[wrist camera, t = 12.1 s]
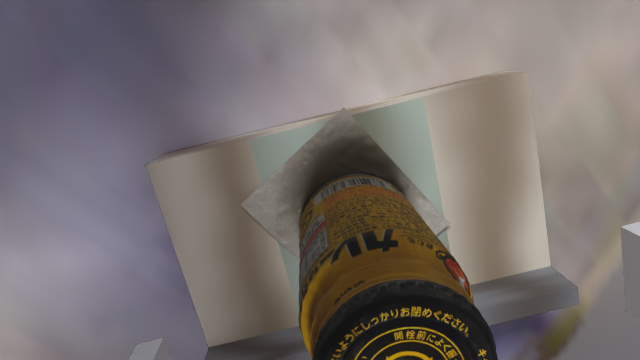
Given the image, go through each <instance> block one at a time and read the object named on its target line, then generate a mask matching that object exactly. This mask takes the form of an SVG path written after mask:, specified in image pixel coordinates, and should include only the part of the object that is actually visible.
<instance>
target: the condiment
mask: <svg viewBox="0 0 640 360" xmlns="http://www.w3.org/2000/svg"><path fill="white" fill-rule="evenodd" d="M241 206H242V207H243V208H244V209H245V210H246V211H247V212H248V213H249V214H250V215H251V216H252V217H253V218H255V219H256V220H257V221H258V222H259V223H260V224H261V225H262V226H263V227H264V228H265V229H266V230H267V231H268V232H269V233H270V234H272V235H273V236H274V237H275V238H276V239H277V240H278V241H279V242H280V243H281V244H282V245H283V246H284V247H285V248H286V249H288V250H289V251H290V252H291V253H292V254H293V255H294V256H295V257H296V258H297V259H298V260H300V263H299V272H300V273H299V317H298V320H299V328H300V330H301V333H302V336H303V341H304V344H305V346H306V348H307V350H308V351H309V353H310V355H311V360H498V358H497V354H496V346H495V342H494V339H493V335H492V333H491V330H490V328H489V326H488V324H487V322H486V321H485V319H484V318H483V316H482V315H481V313H480V311H479V310H478V309H477V308H476V306H475V304H474V301H473V294H472V291H471V288H470V283H469V282H468V279H467V277H466V275H465V273H464V272H463V270H462V269H461V267H460V265H459V263H458V262H457V261H456V259H455V258H454V257H453V256H452V255H451V253H450V252H449V251H448V249H447V248H446V247H445V246H444V245H443V244H442V242H441V241H440V240H439V239H438V238H437V236H436V235H437V234H438V233H440V232H441V231H442V230H443V229H444V228H445V227H446V226H448V225H449V224H450V223H449V221H448V220H447V219H446V218H445V217H444V216H443V215H442V214H441V213H440V212H439V211H438V210H437V208H436V207H435V206H434V205H433V204H432V203H431V202H430V201H429V200H428V199H427V198H426V196H425V195H424V194H423V193H422V192H421V191H420V190H419V189H418V188H417V187H416V186H415V184H414V183H413V182H412V181H411V180H410V179H409V178H408V177H407V176H406V175H405V174H404V173H403V171H402V170H401V169H400V168H399V167H398V166H397V165H396V164H395V163H394V162H393V161H392V159H391V158H390V157H389V156H388V155H387V154H386V153H385V152H384V151H383V150H382V149H381V147H380V146H379V145H378V144H377V143H376V142H375V141H374V140H373V139H372V138H371V136H370V135H369V134H368V133H367V132H366V131H365V130H364V129H363V128H362V127H361V126H360V125H359V124H358V122H357V121H356V120H355V119H354V118H353V117H352V116H351V115H350V114H349V113H348V112H347V110H346V109H345V108H343V109H342V110H341V111H340V112H339V113H338V114H336V115H335V116H334V117H333V119H331V120H330V121H329V122H328V123H327V124H326V125H325V126H324V127H322V128H321V129H320V130H319V131H318V132H317V133H316V134H315V135H314V136H313V137H312V138H311V139H310V140H309V141H307V142H306V143H305V144H304V145H303V146H302V147H301V148H300V149H299V150H298V151H297V152H296V153H295V154H294V155H293V156H292V157H291V158H289V159H288V160H287V161H286V162H285V163H284V164H283V165H282V166H281V167H280V168H279V169H278V170H277V171H276V172H275V173H274V174H273V175H272V176H271V177H269V178H268V179H267V180H266V181H265V182H264V183H263V184H262V185H261V186H260V187H259V188H258V189H257V190H256V191H255V192H254V193H253V194H252V195H250V196H249V197H248V198H247V199H246V200H245V201H244V202H243V203H242V204H241ZM299 210H300V212H299Z"/></svg>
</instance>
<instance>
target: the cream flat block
mask: <svg viewBox="0 0 640 360" xmlns="http://www.w3.org/2000/svg"><path fill="white" fill-rule="evenodd" d="M346 110H347V112H348V113H349V114H350V115H351V116H352V117H353V118H354V119H355V120H356V121H357V122H358V124H359V125H360V126H361V127H362V128H363V129H364V130H365V131H366V132H367V133H368V134H369V135H370V136H371V138H372V139H373V140H374V141H375V142H376V143H377V144H378V145H379V146H380V147H381V149H382V150H383V151H384V152H385V153H386V154H387V155H388V156H389V157H390V158H391V159H392V161H393V162H394V163H395V164H396V165H397V166H398V167H399V168H400V169H401V170H402V171H403V173H404V174H405V175H406V176H407V177H408V178H409V179H410V180H411V181H412V182H413V183H414V184H415V186H416V187H417V188H418V189H419V190H420V191H421V192H422V193H423V194H424V195H425V196H426V198H427V199H428V200H429V201H430V202H431V203H432V204H433V205H434V206H435V207H436V208H437V210H438V211H439V212H440V213H441V214H442V215H443V216H444V217H445V218H446V219H447V220H448V221H449V223H450V224H449V225H448V226H446V227H445V228H444V229H443V230H442V231H441V232H440V233H438V234H437V235H436V236H437V238H438V239H439V240H440V241H441V242H442V244H443V245H444V246H445V247H446V248H447V249H448V251H449V252H450V253H451V255H452V256H453V257H454V258H455V259H456V261H457V262H458V263H459V265H460V267H461V269H462V270H463V272H464V273H465V275H466V277H467V279H468V282H469V283H470V288H471V291H472V294H473V301H474V304H475V306H476V308H477V309H478V310H479V311H480V313H481V315H482V316H483V318H484V319H485V321H486V322H487V324H488V326H490V325H494V324H498V323H502V322H507V321H511V320H515V319H519V318H523V317H528V316H532V315H536V314H540V313H545V312H549V311H553V310H557V309H561V308H566V307H570V306H574V305H578V304H579V295H578V287H577V286H576V285H574V284H573V283H572V282H570V281H569V280H568V279H567V278H565V277H564V276H563V275H561V274H560V273H559V272H558V271H556V270H555V269H554V268H553V267H551V265H550V257H549V248H548V239H547V230H546V221H545V212H544V203H543V195H542V186H541V177H540V168H539V159H538V150H537V142H536V133H535V124H534V115H533V106H532V97H531V89H530V80H529V71H500V72H496V73H492V74H488V75H484V76H480V77H476V78H472V79H468V80H464V81H460V82H455V83H451V84H447V85H443V86H439V87H435V88H431V89H427V90H423V91H419V92H415V93H411V94H406V95H402V96H398V97H394V98H390V99H386V100H382V101H378V102H374V103H370V104H366V105H362V106H357V107H353V108H349V109H346ZM339 112H340V111H337V112H333V113H329V114H325V115H321V116H317V117H313V118H308V119H304V120H300V121H296V122H292V123H288V124H284V125H280V126H276V127H272V128H268V129H263V130H259V131H255V132H251V133H247V134H243V135H239V136H235V137H231V138H227V139H223V140H219V141H214V142H210V143H206V144H202V145H198V146H194V147H190V148H186V149H182V150H178V151H174V152H170V153H165V154H162V155H161V156H159V157H157V158H156V159H154V160H153V161H151V162H149V163H148V164H146V165H145V166H146V169H147V172H148V175H149V178H150V181H151V183H152V186H153V189H154V192H155V195H156V198H157V201H158V203H159V206H160V209H161V212H162V215H163V218H164V221H165V223H166V226H167V229H168V232H169V235H170V238H171V241H172V244H173V246H174V249H175V252H176V255H177V258H178V261H179V264H180V266H181V269H182V272H183V275H184V278H185V281H186V284H187V287H188V289H189V292H190V295H191V298H192V301H193V304H194V307H195V309H196V312H197V315H198V318H199V321H200V324H201V327H202V330H203V332H204V335H205V338H206V341H207V344H208V347H209V348H208V351H207V354H206V357H205V360H311V355H310V353H309V351H308V350H307V348H306V346H305V344H304V341H303V336H302V333H301V330H300V328H299V320H298V317H299V273H300V272H299V263H300V260H298V259H297V258H296V257H295V256H294V255H293V254H292V253H291V252H290V251H289V250H288V249H286V248H285V247H284V246H283V245H282V244H281V243H280V242H279V241H278V240H277V239H276V238H275V237H274V236H273V235H272V234H270V233H269V232H268V231H267V230H266V229H265V228H264V227H263V226H262V225H261V224H260V223H259V222H258V221H257V220H256V219H255V218H253V217H252V216H251V215H250V214H249V213H248V212H247V211H246V210H245V209H244V208H243V207H242V206H241V204H242V203H243V202H244V201H245V200H246V199H247V198H248V197H249V196H250V195H252V194H253V193H254V192H255V191H256V190H257V189H258V188H259V187H260V186H261V185H262V184H263V183H264V182H265V181H266V180H267V179H268V178H269V177H271V176H272V175H273V174H274V173H275V172H276V171H277V170H278V169H279V168H280V167H281V166H282V165H283V164H284V163H285V162H286V161H287V160H288V159H289V158H291V157H292V156H293V155H294V154H295V153H296V152H297V151H298V150H299V149H300V148H301V147H302V146H303V145H304V144H305V143H306V142H307V141H309V140H310V139H311V138H312V137H313V136H314V135H315V134H316V133H317V132H318V131H319V130H320V129H321V128H322V127H324V126H325V125H326V124H327V123H328V122H329V121H330V120H331V119H333V117H334V116H335V115H336V114H338V113H339ZM299 212H300V210H299Z"/></svg>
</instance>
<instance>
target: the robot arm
mask: <svg viewBox="0 0 640 360" xmlns="http://www.w3.org/2000/svg"><path fill="white" fill-rule="evenodd" d="M621 241H622V259H623V277H624V296H625V312H627V313H628V314H629V315H631V316H632V317H633V318H635V319H636V320H637V321H639V322H640V222H638V223H634V224H630V225H625V226H621ZM128 360H172V358H171V355H170V353H169V350H168V348H167V345H166V343H165V340H164V338H159V339H155V340H151V341H147V342H143V343H139V344H137V345H136V347H135V349H134V350H133V352H132V354H131V356H130V358H129V359H128Z"/></svg>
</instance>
